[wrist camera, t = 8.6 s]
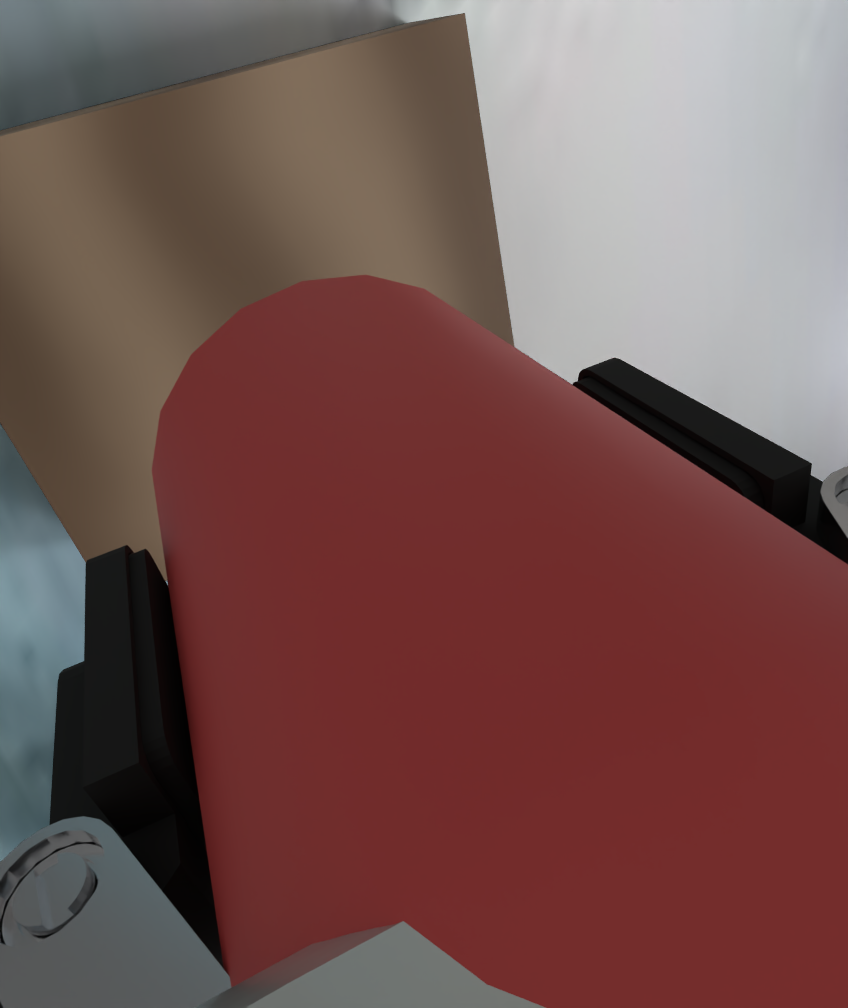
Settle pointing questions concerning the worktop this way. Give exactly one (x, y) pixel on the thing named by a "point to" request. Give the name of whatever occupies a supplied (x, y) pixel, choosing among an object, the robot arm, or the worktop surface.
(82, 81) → the worktop surface
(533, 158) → the worktop surface
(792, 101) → the worktop surface
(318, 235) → the walnut base
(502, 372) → the beer can
